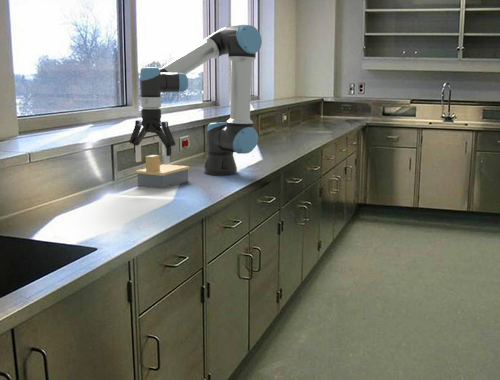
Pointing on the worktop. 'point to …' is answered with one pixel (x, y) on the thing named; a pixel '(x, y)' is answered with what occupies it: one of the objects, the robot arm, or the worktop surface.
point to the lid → (159, 167)
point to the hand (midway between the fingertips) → (152, 162)
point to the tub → (162, 179)
